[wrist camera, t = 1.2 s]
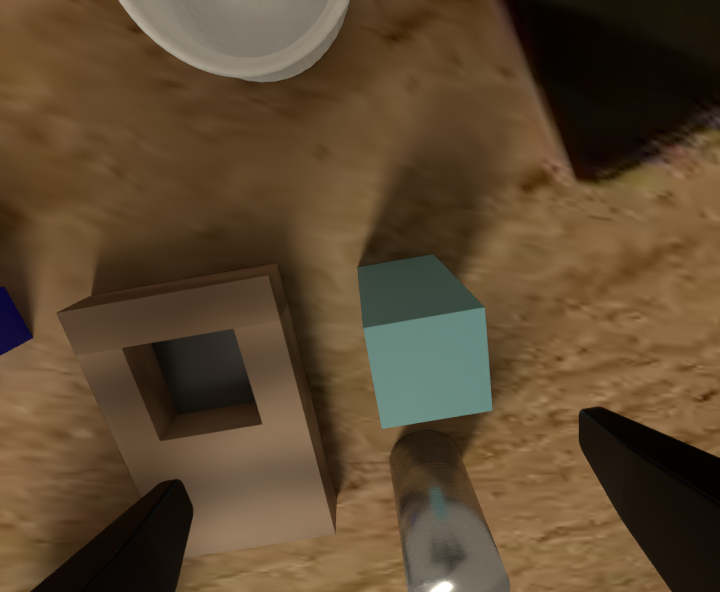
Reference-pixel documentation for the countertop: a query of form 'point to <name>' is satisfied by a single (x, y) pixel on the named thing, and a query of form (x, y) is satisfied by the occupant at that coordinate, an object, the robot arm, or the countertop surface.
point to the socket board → (211, 403)
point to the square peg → (423, 342)
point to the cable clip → (11, 324)
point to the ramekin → (242, 33)
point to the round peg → (442, 519)
